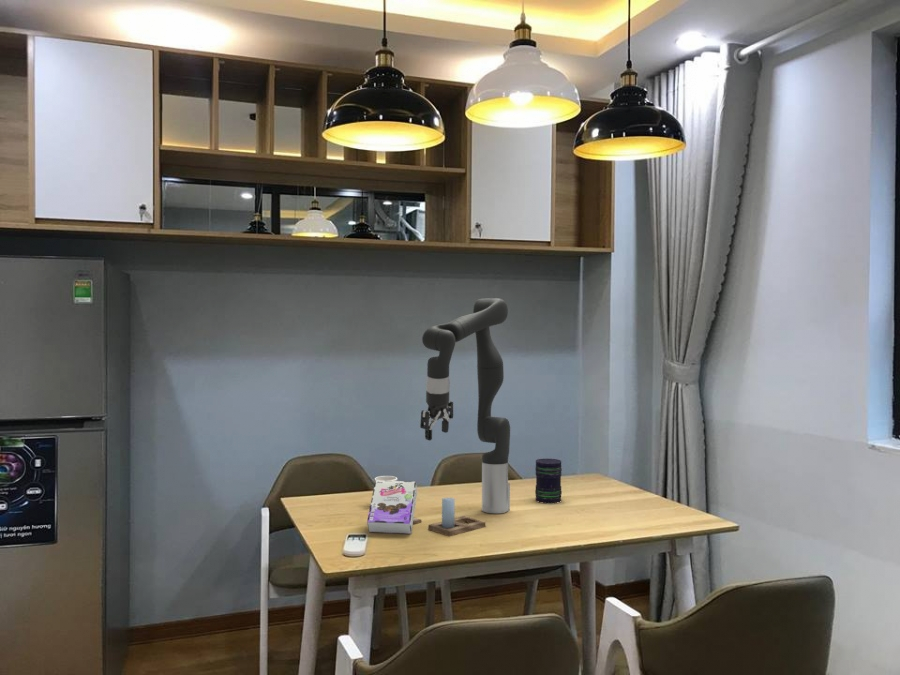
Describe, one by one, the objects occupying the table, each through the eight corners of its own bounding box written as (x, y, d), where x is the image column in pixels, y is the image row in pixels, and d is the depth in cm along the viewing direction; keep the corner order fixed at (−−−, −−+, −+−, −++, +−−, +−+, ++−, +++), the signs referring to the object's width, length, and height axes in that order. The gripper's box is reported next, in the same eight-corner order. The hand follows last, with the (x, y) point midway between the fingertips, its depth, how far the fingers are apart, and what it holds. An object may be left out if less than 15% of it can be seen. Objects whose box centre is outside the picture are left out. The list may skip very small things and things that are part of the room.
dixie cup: (369, 505, 259) (369, 478, 259) (387, 501, 265) (387, 474, 265) (384, 509, 253) (384, 481, 253) (402, 505, 259) (402, 478, 259)
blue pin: (448, 527, 230) (448, 497, 230) (457, 530, 227) (457, 499, 227) (439, 530, 227) (439, 499, 227) (447, 532, 224) (448, 501, 224)
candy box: (366, 521, 221) (374, 479, 233) (368, 532, 224) (376, 490, 237) (410, 523, 219) (416, 480, 232) (412, 534, 223) (417, 491, 235)
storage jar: (563, 503, 262) (563, 463, 262) (536, 503, 262) (536, 463, 262) (559, 497, 272) (559, 458, 272) (534, 497, 272) (534, 458, 272)
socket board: (464, 520, 239) (464, 516, 239) (485, 526, 232) (485, 521, 232) (428, 529, 228) (428, 524, 228) (449, 536, 221) (449, 531, 221)
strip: (412, 519, 240) (413, 496, 239) (421, 522, 236) (421, 498, 236) (396, 523, 235) (396, 499, 235) (405, 526, 232) (405, 501, 231)
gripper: (442, 381, 236) (441, 426, 241) (414, 391, 226) (414, 439, 230) (460, 386, 232) (458, 432, 236) (433, 397, 221) (432, 445, 225)
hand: (436, 435), depth 233 cm, fingers open, 8 cm apart
